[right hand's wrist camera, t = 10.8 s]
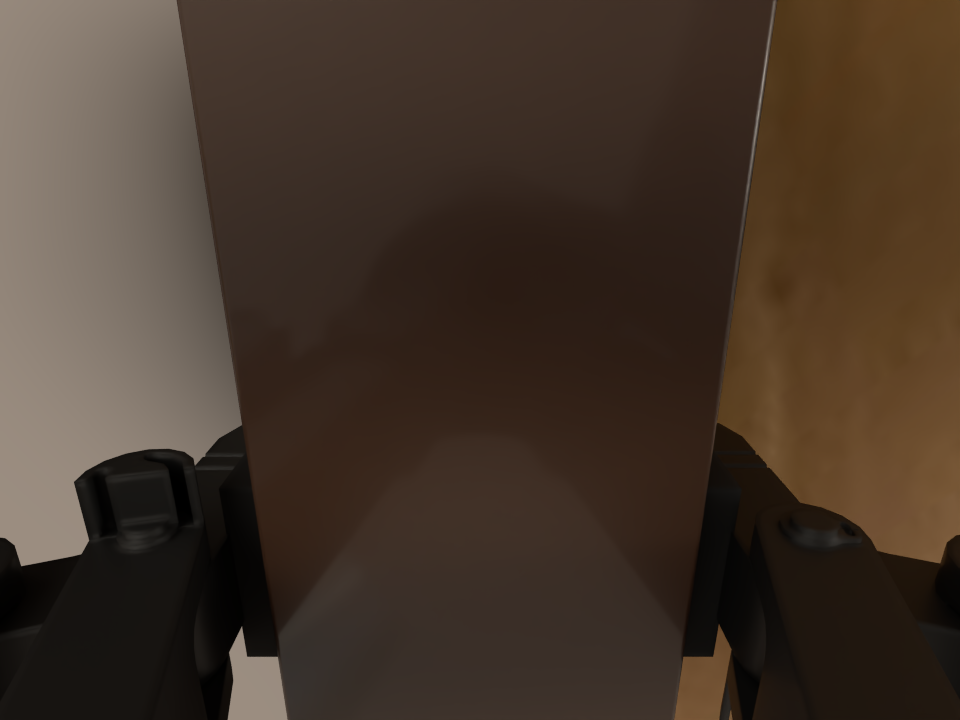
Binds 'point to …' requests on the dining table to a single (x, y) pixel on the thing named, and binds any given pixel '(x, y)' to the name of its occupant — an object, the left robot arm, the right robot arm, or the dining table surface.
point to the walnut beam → (478, 333)
